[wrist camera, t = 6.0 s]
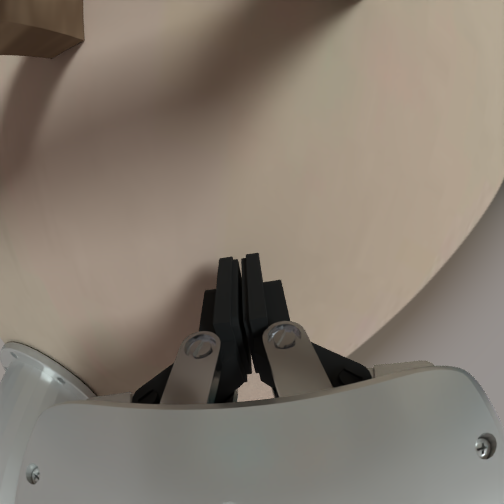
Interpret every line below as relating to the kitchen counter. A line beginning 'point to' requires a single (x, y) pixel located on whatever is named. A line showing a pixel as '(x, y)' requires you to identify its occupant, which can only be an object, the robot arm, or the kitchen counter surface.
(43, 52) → the bridge
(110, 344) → the kitchen counter surface
